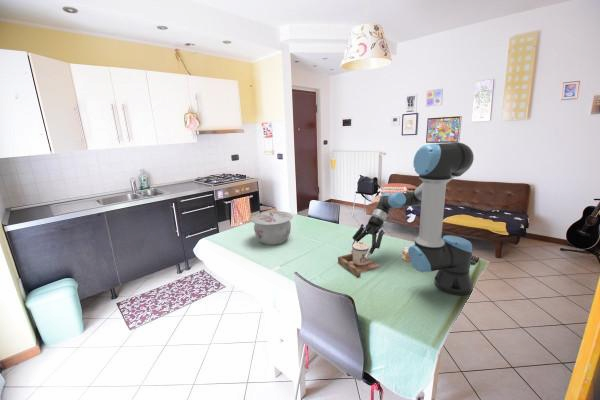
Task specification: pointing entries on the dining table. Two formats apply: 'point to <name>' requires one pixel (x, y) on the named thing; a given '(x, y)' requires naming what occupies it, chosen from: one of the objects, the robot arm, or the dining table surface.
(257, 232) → the chamber pot
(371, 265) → the low wooden tray
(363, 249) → the teacup with lid
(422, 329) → the dining table surface
